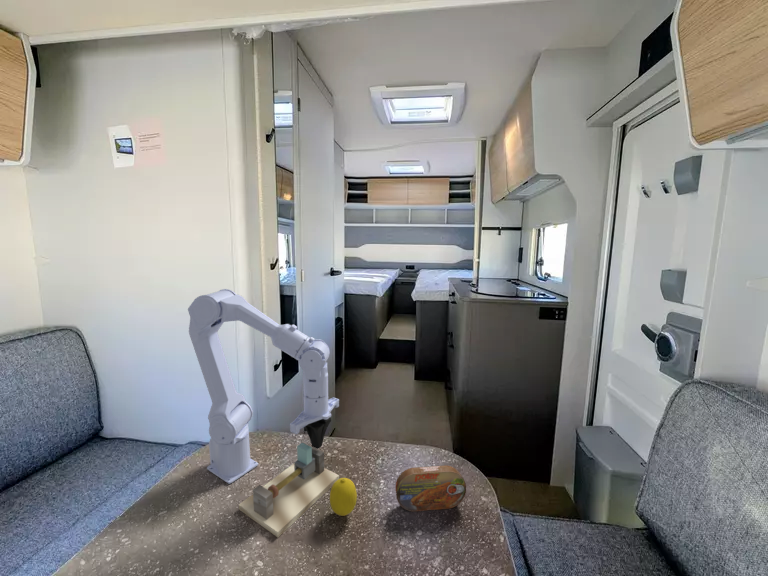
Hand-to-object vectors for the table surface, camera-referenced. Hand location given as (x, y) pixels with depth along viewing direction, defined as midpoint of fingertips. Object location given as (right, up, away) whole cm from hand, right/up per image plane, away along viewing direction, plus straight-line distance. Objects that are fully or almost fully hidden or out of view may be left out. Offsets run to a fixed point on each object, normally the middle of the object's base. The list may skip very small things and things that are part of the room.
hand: (316, 446), depth 79 cm
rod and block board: (-4, -8, -6) cm, 11 cm away
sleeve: (-2, -5, -3) cm, 6 cm away
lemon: (+8, -9, -11) cm, 16 cm away
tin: (+26, -9, -8) cm, 29 cm away
